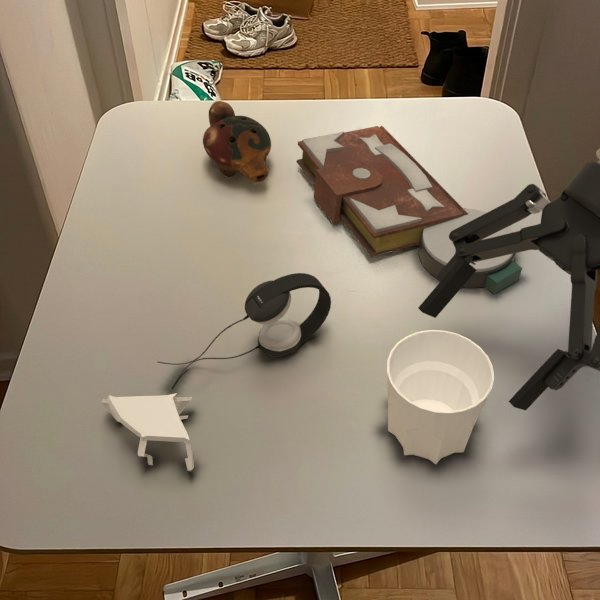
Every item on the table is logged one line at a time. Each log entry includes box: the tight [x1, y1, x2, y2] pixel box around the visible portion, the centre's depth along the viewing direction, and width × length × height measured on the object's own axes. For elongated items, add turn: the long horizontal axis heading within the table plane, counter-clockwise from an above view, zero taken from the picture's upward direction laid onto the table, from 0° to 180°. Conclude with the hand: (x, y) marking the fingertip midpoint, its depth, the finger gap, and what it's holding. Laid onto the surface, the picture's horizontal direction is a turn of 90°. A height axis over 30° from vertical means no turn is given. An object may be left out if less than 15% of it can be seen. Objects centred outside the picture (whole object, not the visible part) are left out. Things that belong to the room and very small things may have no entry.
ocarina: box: [202, 100, 272, 184], centre depth 107 cm, size 10×15×8 cm, turn 34°
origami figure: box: [101, 392, 195, 472], centre depth 75 cm, size 12×8×5 cm
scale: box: [418, 208, 523, 295], centre depth 94 cm, size 13×12×3 cm
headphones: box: [157, 272, 332, 389], centre depth 81 cm, size 10×4×20 cm
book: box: [296, 125, 468, 258], centre depth 102 cm, size 23×16×5 cm
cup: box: [386, 329, 495, 465], centre depth 73 cm, size 10×10×10 cm
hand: (469, 357), depth 72 cm, fingers open, 13 cm apart
